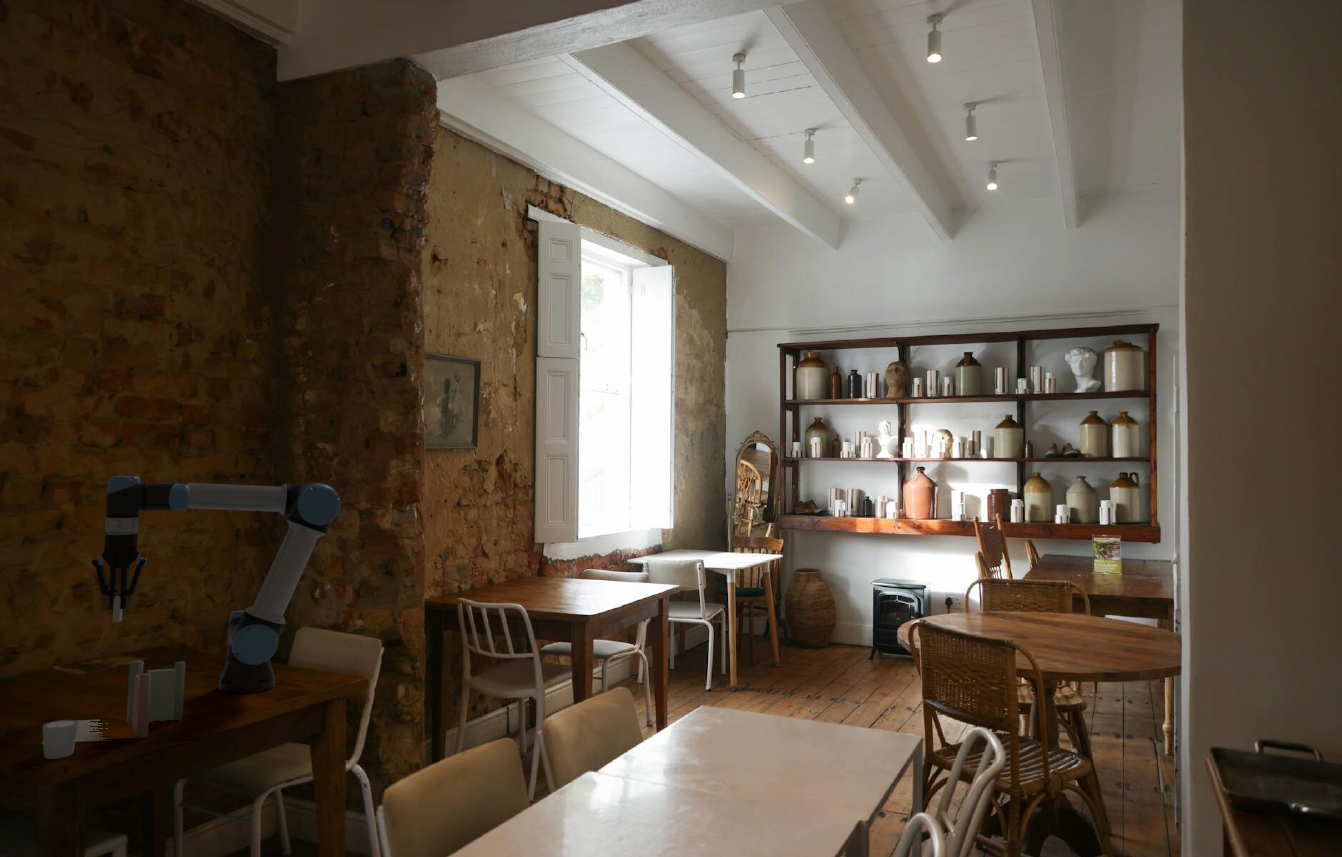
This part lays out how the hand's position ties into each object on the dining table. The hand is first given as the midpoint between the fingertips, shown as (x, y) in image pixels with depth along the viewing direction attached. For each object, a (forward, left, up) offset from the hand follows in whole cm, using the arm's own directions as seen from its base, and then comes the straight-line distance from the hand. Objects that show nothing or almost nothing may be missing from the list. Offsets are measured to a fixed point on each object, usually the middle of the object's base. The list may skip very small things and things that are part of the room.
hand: (117, 621), depth 236 cm
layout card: (-2, +17, -24) cm, 30 cm away
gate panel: (-11, +21, -23) cm, 33 cm away
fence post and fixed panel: (-13, +12, -24) cm, 30 cm away
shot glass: (+2, +34, -24) cm, 42 cm away
